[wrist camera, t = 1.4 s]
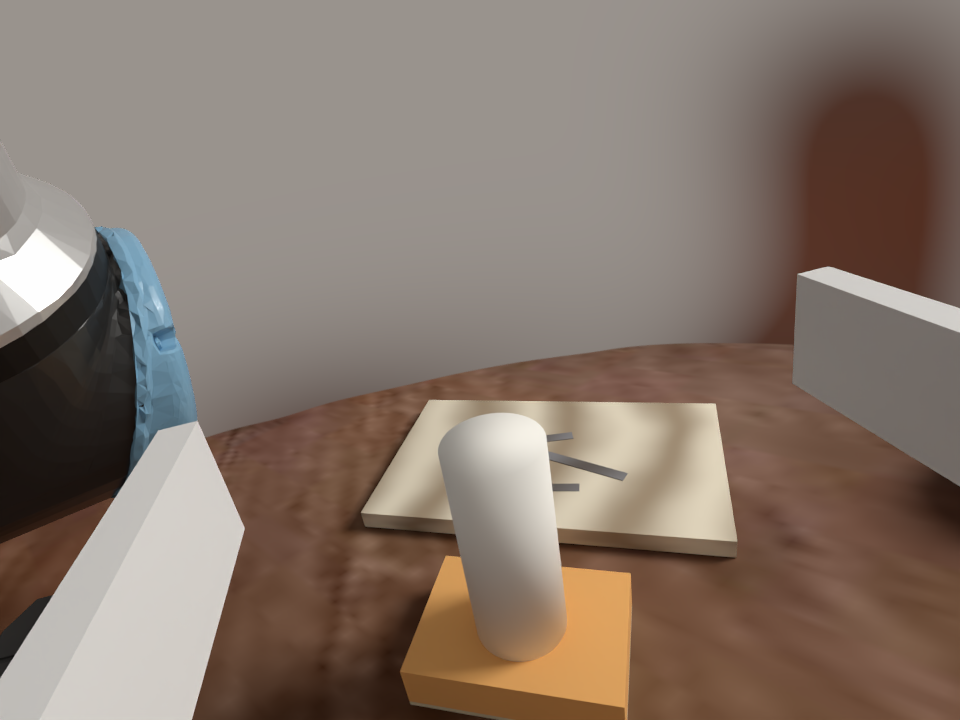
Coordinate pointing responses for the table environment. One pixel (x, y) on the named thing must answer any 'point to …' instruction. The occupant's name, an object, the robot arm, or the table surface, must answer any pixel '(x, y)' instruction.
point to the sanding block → (516, 594)
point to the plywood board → (586, 474)
